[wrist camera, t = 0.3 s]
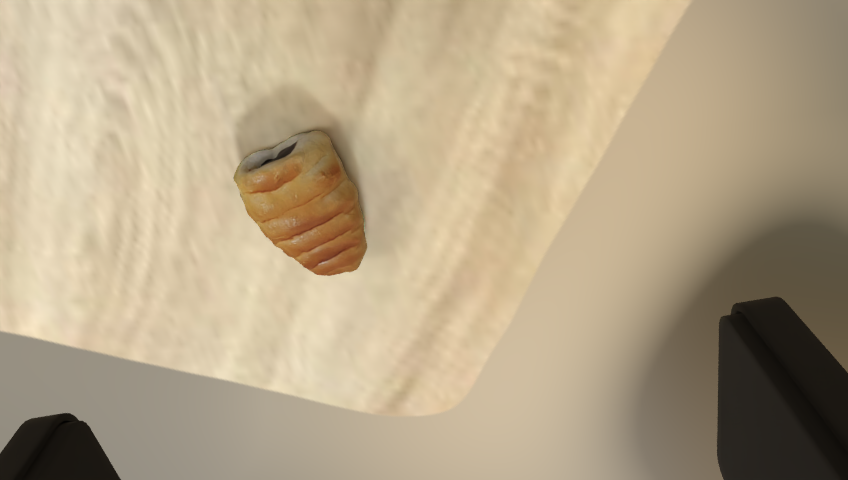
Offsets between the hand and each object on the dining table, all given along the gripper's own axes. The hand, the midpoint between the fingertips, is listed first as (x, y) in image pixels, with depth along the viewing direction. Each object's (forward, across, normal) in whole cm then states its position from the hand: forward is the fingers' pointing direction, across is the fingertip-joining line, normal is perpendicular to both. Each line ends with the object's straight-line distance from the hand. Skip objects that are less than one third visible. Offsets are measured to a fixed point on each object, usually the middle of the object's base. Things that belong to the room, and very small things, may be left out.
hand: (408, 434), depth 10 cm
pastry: (+31, +9, +8) cm, 33 cm away
